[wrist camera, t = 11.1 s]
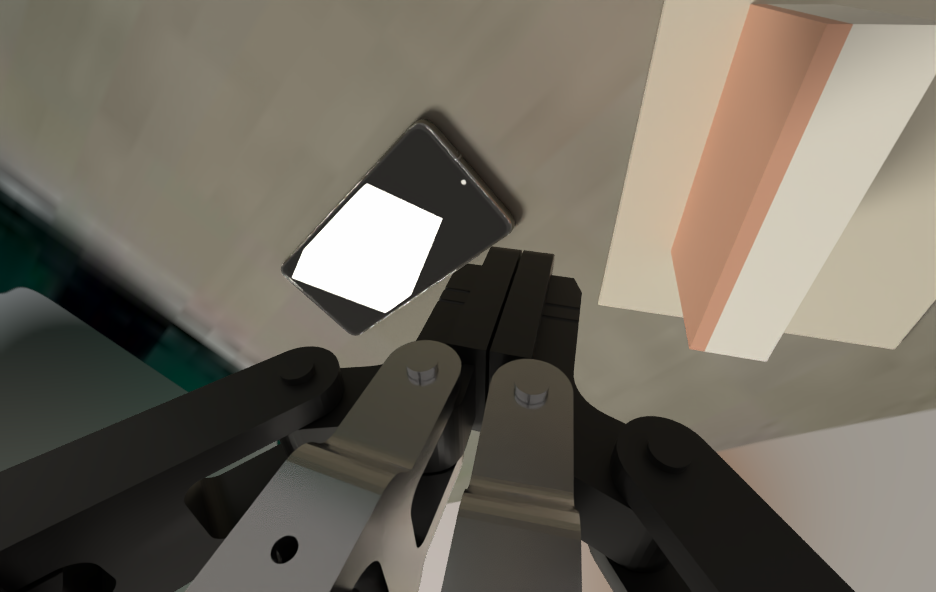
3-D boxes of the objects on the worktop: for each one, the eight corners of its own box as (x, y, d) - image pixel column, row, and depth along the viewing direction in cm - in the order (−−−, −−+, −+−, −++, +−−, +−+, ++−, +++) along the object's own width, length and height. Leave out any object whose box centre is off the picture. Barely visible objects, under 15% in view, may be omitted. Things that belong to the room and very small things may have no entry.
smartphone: (275, 270, 29) (420, 115, 20) (284, 262, 30) (428, 108, 21) (354, 340, 31) (519, 230, 22) (361, 331, 32) (523, 220, 23)
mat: (688, -113, 14) (691, -115, 13) (1287, -146, 11) (1308, -150, 10) (598, 300, 24) (598, 304, 24) (890, 343, 21) (894, 349, 21)
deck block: (750, 4, 15) (826, 23, 9) (833, 4, 14) (964, 25, 9) (670, 251, 21) (689, 348, 15) (726, 258, 20) (766, 361, 15)
